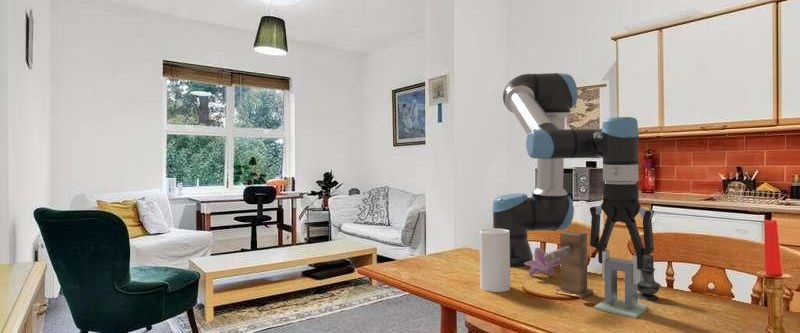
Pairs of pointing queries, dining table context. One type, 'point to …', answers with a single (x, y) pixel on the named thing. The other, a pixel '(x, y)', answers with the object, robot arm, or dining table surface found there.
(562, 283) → the peg stand
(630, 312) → the mat
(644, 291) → the salt shaker
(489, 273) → the cup
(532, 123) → the robot arm
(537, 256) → the lily
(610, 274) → the grey slotted block
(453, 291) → the dining table surface
